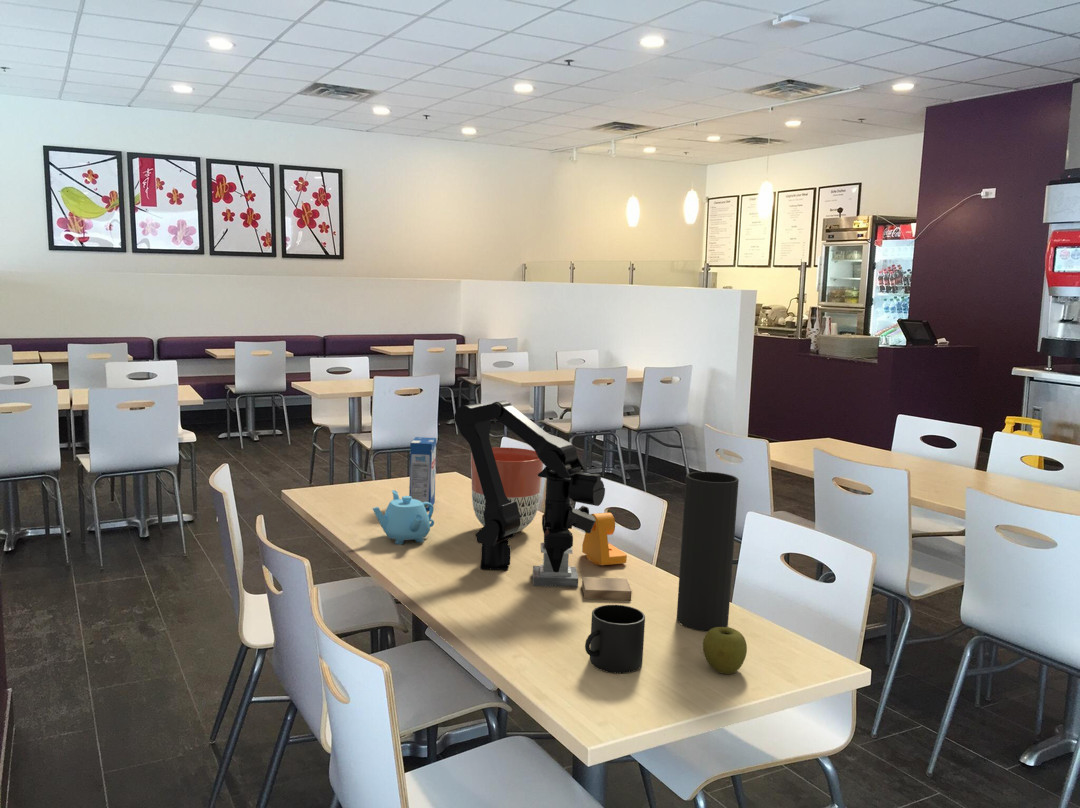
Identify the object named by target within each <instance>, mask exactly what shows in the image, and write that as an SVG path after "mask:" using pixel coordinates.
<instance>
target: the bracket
mask: <svg viewBox="0 0 1080 808" xmlns="http://www.w3.org/2000/svg"><path fill="white" fill-rule="evenodd" d="M591 514H592V516H594V517H595V520H596V521H595V523H594V526H593V528H592V530H591V533H586V532H585V531H584V538H583V541H582V548H581V549H582V551H581V552H582V553H583V554H584V555H586V559H588V560H589V561H590V562H591V563H592V564H594V565H596V566H608V565H619V564H620V565H621V564H626V563H627V558H628V557H627V556H628V555H627V553H626V552H623V551H622V550H621V549H619V548H618V547H616V546H615V545H613V544H612V543H610V542H609V538H608V535H609V536H612V535H614V533H615V530H616V520H615V517H614V515H613V513H612V512H603V513H602V512H601V513H600V512H599V513H598V512H597V513H591Z"/></svg>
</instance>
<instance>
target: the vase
mask: <svg viewBox="0 0 1080 808" xmlns="http://www.w3.org/2000/svg"><path fill="white" fill-rule="evenodd" d="M739 481H740V480H739V478H738V477H737V476H734V475H732V474H728V473H721V472H713V471H692V472H688V473H686V475H685V484H684V499H683V500H684V501H683V513H682V528H681V529H682V531H681V545H680V561H679V562H680V563H679V576H678V577H679V578H678V590H677V591H678V594H677V604H676V605H677V607H676V609H677V610H676V620H677V622H678V623H679V624H680V625H681V626H683V627H685V628H687V629H690V630H695V631H699V632H708V631H709V630H710V629H712V628H715V627H728V625H729V618H730V617H729V615H730V602H731V601H730V600H731V587H732V574H733V562H734V561H733V560H734V548H735V547H734V546H735V535H736V533H735V532H736V521H737V519H736V518H737V510H738V509H737V506H738V505H737V504H738V496H739V495H738V493H739Z"/></svg>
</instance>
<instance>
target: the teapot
mask: <svg viewBox="0 0 1080 808" xmlns="http://www.w3.org/2000/svg"><path fill="white" fill-rule="evenodd" d="M391 492H392V496H393V497H392V500H390V501H389V503H388V504H387V505H388V506H387V507H386V509H385V511H384V513H383V512H382V511H381V509H380V507H378V506H377V507H372V511H373V512H374V514H375V516H376V518H377V520H378V523H379V524H380V526H381V528H382V529H383V533H384V534H385V535H386V536H387V538H388V539H391V540H395V542H394V544H395V545H399V546H401V545H404V544H405V541H410V540H414V541H415V542H416V543H423V542H425V540H424V538H426V537H427V536H428V535H429V532H430V531H431V527H433V526H434V524H435V520H433V518H432V517H433V514H434V505H432V504H431V503H429V502H423V503H422V502H421V501H419V500H416V499H412V497H411V496H409V495H404V496H401V498H400V496H399V493H398V491H397V490H395V489H393V490H391ZM424 505H429V506H430V511H426V509H425V506H424Z"/></svg>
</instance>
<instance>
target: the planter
mask: <svg viewBox="0 0 1080 808" xmlns="http://www.w3.org/2000/svg"><path fill="white" fill-rule="evenodd" d="M492 450H493V454H494V457H495V461H496V464H497V468H498V471H499V475H500V478H501V482H502V485H503V489H504V492H505V495H506V497H507V498H508V499H509V500H510V502H514V501H516V502H517V504H518V510H519V513H520V515H521V516H522V517H521V518H520V522H521V523H520V526H519V529H518V530H517V531H516V532H515V534H517V533H519V532H521V531H523V530H524V529H526V528H527V527H528V526H529V525H530V524H531V523H532V522H533V521H534V519H535V516H536V515H537V512H538V508H539V505H540V498H541V489H542V479H543V477H539V476H538V474H539V473H540V472H541V471H543V469H544V464H543V463H542V461H541V460H540V459H539V458H538V456H537V454H536V452H535V450H534V449H529V448H528V449H527V448H522V447H521V448H519V447H505V446H504V447H492ZM470 471H471V476H470V477H471V479H470V480H471V499H472V501H471V502H472V508H473V511H474V515H475V517H476V518H477V520H478V522H479V523H480V525H482V526H483V527H484V526H485V522H484V510H485V504H486V502H485V498H484V494H483V491H482V487H481V484H480V480H479V477H478V473H477V470H476V466H475V463H474V459H473V456H472V452H471V453H470Z"/></svg>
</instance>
